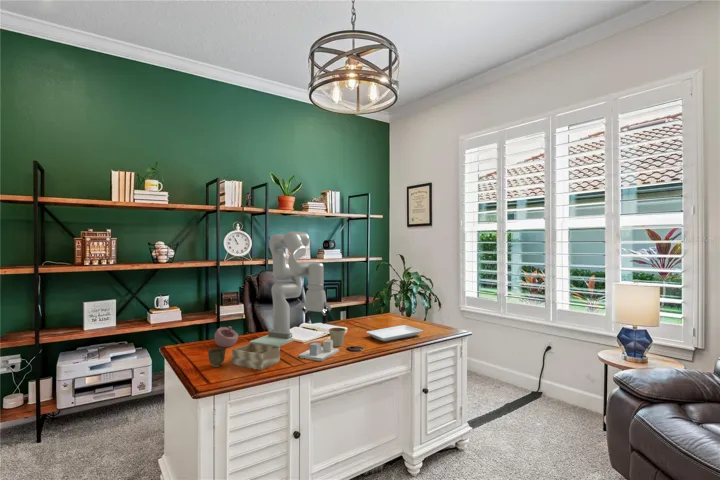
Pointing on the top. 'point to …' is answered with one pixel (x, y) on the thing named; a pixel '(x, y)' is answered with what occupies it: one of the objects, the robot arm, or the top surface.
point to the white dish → (319, 357)
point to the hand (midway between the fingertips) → (316, 322)
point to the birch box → (256, 356)
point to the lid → (273, 339)
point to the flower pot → (337, 336)
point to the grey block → (315, 348)
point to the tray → (394, 333)
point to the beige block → (327, 345)
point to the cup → (216, 356)
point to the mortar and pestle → (225, 337)
